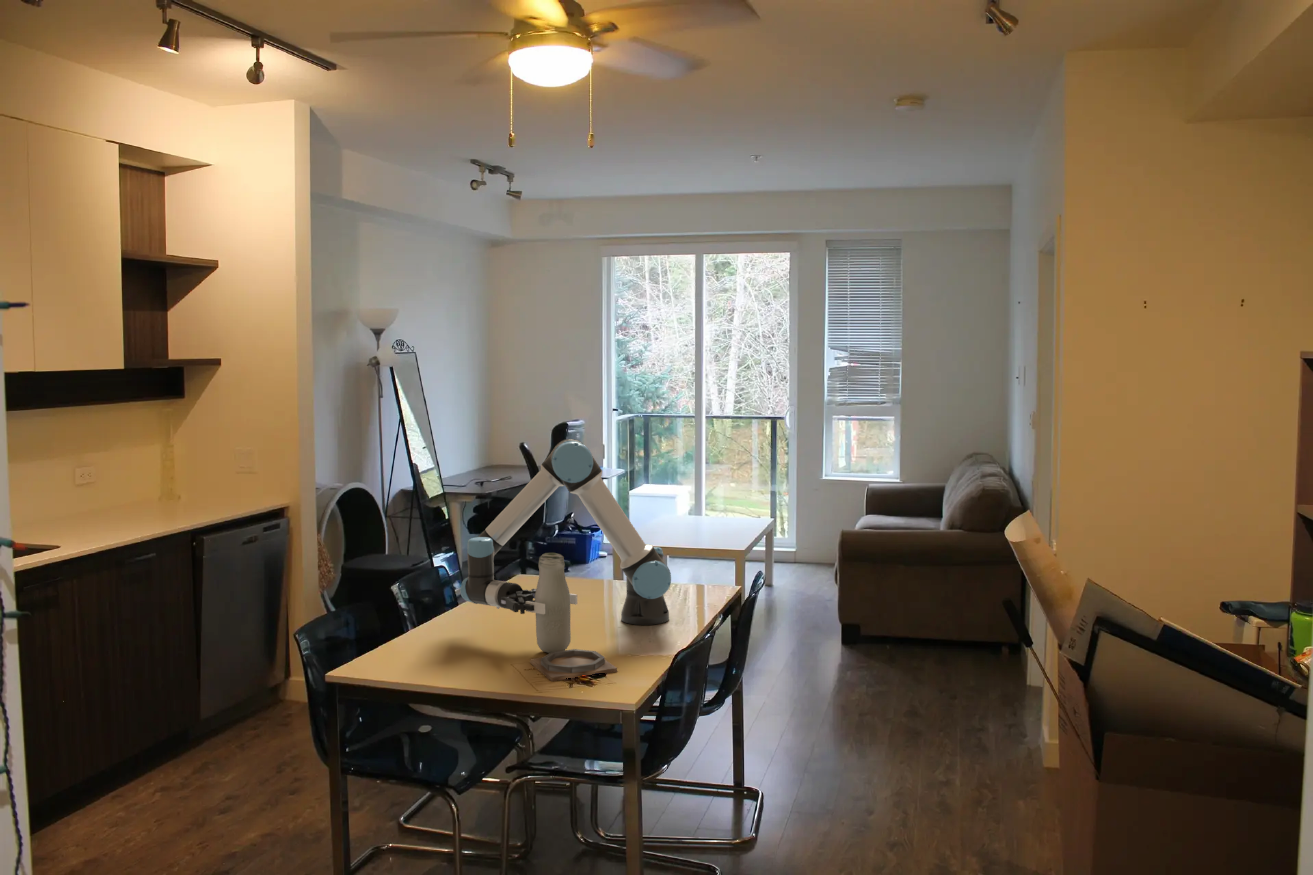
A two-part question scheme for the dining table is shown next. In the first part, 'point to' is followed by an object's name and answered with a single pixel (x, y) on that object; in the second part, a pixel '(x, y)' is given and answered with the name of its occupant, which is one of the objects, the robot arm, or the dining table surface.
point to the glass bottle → (553, 604)
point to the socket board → (572, 664)
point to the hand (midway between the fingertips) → (560, 604)
